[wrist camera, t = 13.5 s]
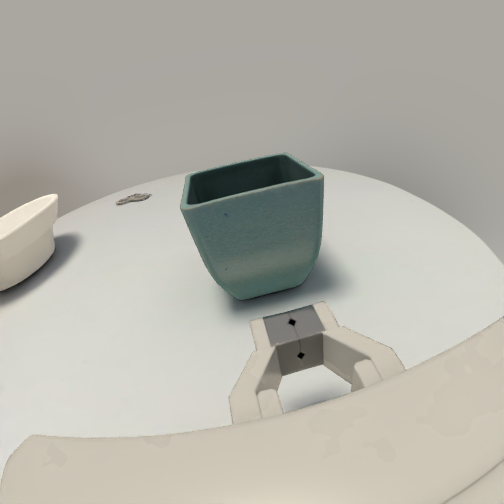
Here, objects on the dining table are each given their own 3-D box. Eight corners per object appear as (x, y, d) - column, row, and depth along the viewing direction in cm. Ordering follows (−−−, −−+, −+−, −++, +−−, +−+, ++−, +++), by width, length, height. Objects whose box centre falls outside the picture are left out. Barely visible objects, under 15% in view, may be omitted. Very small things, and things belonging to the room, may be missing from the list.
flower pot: (210, 262, 29) (185, 173, 24) (299, 241, 29) (286, 150, 25) (216, 325, 21) (178, 209, 16) (333, 294, 21) (327, 175, 17)
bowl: (-39, 324, 26) (-66, 278, 22) (3, 259, 44) (-13, 223, 40) (58, 286, 30) (29, 225, 26) (86, 224, 48) (71, 182, 44)
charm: (112, 203, 53) (120, 196, 56) (113, 205, 53) (121, 198, 56) (146, 196, 51) (153, 189, 54) (147, 198, 52) (154, 192, 55)
